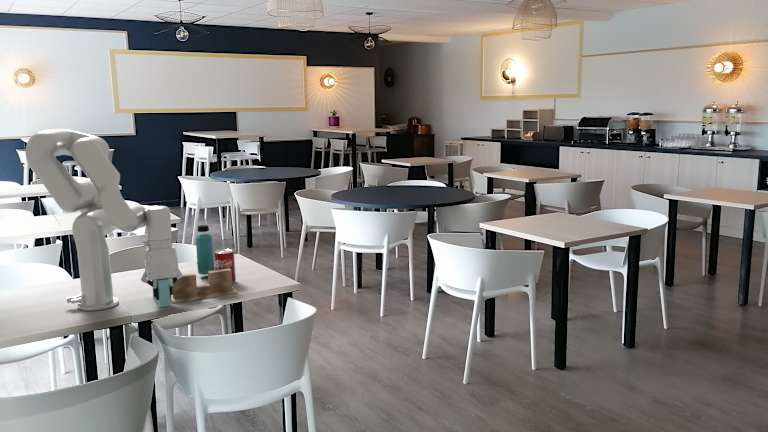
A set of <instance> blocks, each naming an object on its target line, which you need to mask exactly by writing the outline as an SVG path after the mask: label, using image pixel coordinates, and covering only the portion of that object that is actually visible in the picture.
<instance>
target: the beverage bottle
mask: <svg viewBox="0 0 768 432" xmlns="http://www.w3.org/2000/svg"><path fill="white" fill-rule="evenodd" d="M209 228H210V227H209V225H208V224H201V225H197V232H199V234H197V235H196V236H195V247H196V248H195V249H196V261H197V262H196V265H197V273H198V275H201V276H202V275H203V276H205V275H207V276H208V271H215V264H214V245H213V243H214V241H213V236H212V235H211V234H210V233H206V232H209V231H210V229H209Z"/></svg>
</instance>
